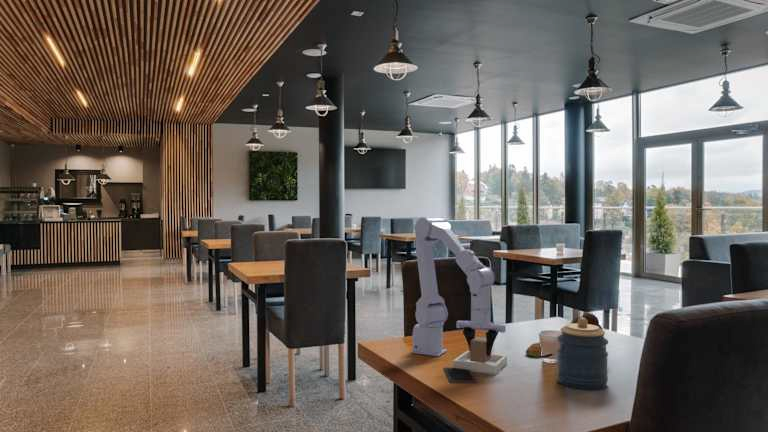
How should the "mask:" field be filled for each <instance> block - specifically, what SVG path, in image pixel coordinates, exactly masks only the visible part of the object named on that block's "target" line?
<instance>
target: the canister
mask: <svg viewBox="0 0 768 432" xmlns="http://www.w3.org/2000/svg"><path fill="white" fill-rule="evenodd" d="M602 329H603V328H602ZM602 329H600V328H599V327H598V326H595V325H591V324H588V321H587V319H585V318H579V319H578V322H577V323H571V322H570V323H568V324H566V325H565V326H563V327H561V328H560V332H561V334H559V335H557V336H556V338H557V339H556V340H558V341H559V342H558V343H559V344H558V347H557V370H556V376H557V381H558V382H559V383H560V384H562V385H564V386H565V387H568V388H572V389H579V390H587V391H588V390H592V391H593V390H594V391H595V390H602V389H604V388H606V387H607V384H608V381H609V375H608V356H609V352H608V351H607V345H608V344H609V340H608V339H607V338H605V334H606V332H604V331H605V330H604V329H603V330H602ZM603 335H604V336H603Z"/></svg>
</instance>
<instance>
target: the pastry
mask: <svg viewBox="0 0 768 432" xmlns="http://www.w3.org/2000/svg"><path fill="white" fill-rule="evenodd" d="M540 342H541V341H539V342H535V343H531V344H530V346H528V347H527V349H526V350H525V355H526V356H531V357H534V358H541V346H540Z"/></svg>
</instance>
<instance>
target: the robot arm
mask: <svg viewBox="0 0 768 432" xmlns="http://www.w3.org/2000/svg"><path fill="white" fill-rule="evenodd" d="M414 236H415V242H414V243H415V244H414V246H415V253H416V261H417V267H418V276H419V277H418V278H419V286H420V292H421V296H420V298H418V300H417V301H416V302H415V305H416V306H415V307H416V310H415V315H414V316H415V320H416V322H417V323H416V324H415V325H414V326H413V328H412V351H411V353H412V354H418V355H425V356H426V355H427V356H434V357H440V356H441V355H444V353H446V352H447V350H448V349H446V348H444V347H443V344H444V343H443V342H444V341H443V340H444V339H443V335H444V334H443V333H444V331H443V330H444V329H443V328H444V327H443V326H444V325H445V322H446V321H447V320H448V316H449V312H448V309H447V306H446V304H445V303H446V302H445V299H444V298H443V297H442V296H441V295H440V294H439V291H438V290H439V289H438V282H437V275H436V273H437V272H436V264H435V258H434V251H433V247H434V246H435V244H436V243H437V242H438V241H442V243H443V244H444V245H445V246H446V247H447V248H448V249H449V250H450V251H451V252H452V253H453V254H454V256H455V262H456V264H457V265H458V266H459V267H460V269H461V271H463V273H464V274H465V275H466V282H467V284H468V286H469V292H470V320H457V321H456V329H461V328H462V329H463V330H462V334H463V336H464V337H465V340H466V342H467V344H468V351H470V341H471V340H472V339H474V338H476V330H479V331H485V338H486V339H487V356H490V355H491V354H492V350H493V346H494V343H495V341H496V338H497V336H498V334H499V333H502V334H505V333H506V331H507V330H506V328H507V327H506V324H500V323H495V322H491V306H492V304H491V302H492V299H491V294H492V293H491V291H492V287H491V286H493V284H494V283H495V282H496V281H495V280H496V276H495V272H494V271H493V269H492V268H491V267H489V266H485V265H484V264H483V262H481V261H480V260H479V258H478V257H477V256H476V255H475V252H474V251H473V250H471V249H468V248H467V249H465V248H464V246H463V244H462V243H461V242H460V240H459V239H458V237H457V236H456V234H455V233H454V231H453V230H452V226H451V224H450V222H448V220H447V219H446V218H445V217H443V216H441V217H420V218H419V219H418V220H417V221H416V222H415V225H414ZM486 331H487V332H486Z"/></svg>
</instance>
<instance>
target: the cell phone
mask: <svg viewBox="0 0 768 432" xmlns="http://www.w3.org/2000/svg"><path fill="white" fill-rule="evenodd" d="M443 371H444V374H445V375H446V378H447V379H448V382H449V383H450V384H477V380H476V378H475V376H474V375H473V372H471V371H470V370H465V369H458V368H453V366H452V367H446V366H445V367H444V368H443Z"/></svg>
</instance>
